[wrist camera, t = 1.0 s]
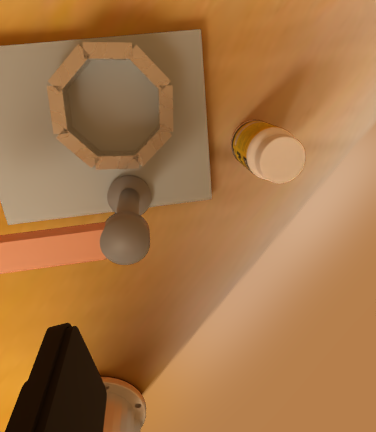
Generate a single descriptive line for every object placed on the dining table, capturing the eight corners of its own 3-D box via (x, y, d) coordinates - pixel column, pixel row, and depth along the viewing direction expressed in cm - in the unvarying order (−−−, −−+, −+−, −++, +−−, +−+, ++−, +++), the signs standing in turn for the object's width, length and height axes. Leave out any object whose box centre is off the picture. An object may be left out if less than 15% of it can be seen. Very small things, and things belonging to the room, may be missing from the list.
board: (198, 30, 31) (222, 10, 22) (210, 201, 37) (232, 241, 28) (-41, 51, 29) (-124, 38, 20) (14, 226, 36) (-31, 277, 27)
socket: (193, 106, 32) (197, 108, 30) (120, 184, 34) (119, 191, 32) (108, 16, 29) (105, 11, 26) (32, 108, 31) (23, 110, 28)
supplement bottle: (221, 149, 35) (243, 169, 28) (248, 110, 34) (278, 118, 27) (256, 173, 37) (286, 198, 29) (283, 136, 36) (322, 151, 28)
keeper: (146, 208, 26) (146, 217, 24) (152, 250, 27) (152, 261, 26) (-73, 235, 25) (-88, 247, 23) (-55, 278, 26) (-68, 291, 24)
